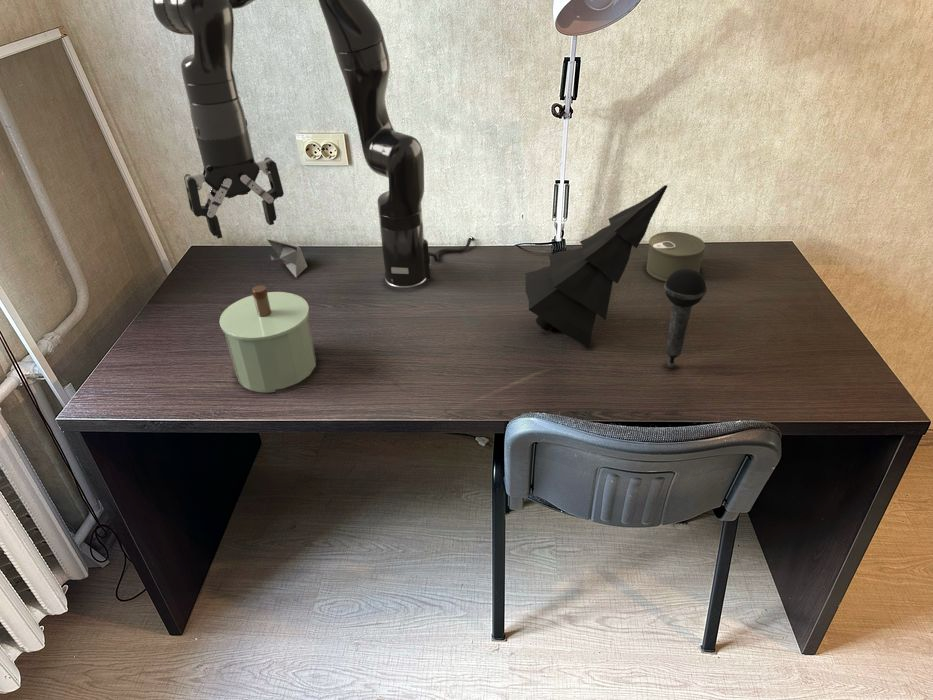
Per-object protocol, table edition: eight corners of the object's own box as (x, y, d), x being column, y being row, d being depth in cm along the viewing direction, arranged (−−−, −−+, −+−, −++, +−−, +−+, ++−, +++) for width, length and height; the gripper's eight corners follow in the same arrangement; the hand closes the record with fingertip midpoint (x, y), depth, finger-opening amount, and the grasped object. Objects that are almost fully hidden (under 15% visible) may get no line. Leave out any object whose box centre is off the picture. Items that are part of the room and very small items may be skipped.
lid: (292, 289, 128) (286, 260, 124) (323, 325, 117) (317, 294, 113) (210, 313, 121) (202, 283, 118) (235, 353, 110) (227, 322, 107)
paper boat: (321, 263, 157) (292, 269, 150) (310, 281, 161) (281, 288, 154) (292, 226, 160) (261, 230, 152) (281, 245, 163) (251, 250, 156)
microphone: (683, 383, 118) (703, 284, 107) (645, 372, 121) (661, 274, 110) (694, 363, 123) (715, 266, 112) (658, 353, 126) (674, 257, 115)
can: (710, 279, 149) (716, 251, 145) (660, 286, 147) (664, 258, 143) (683, 255, 158) (688, 228, 154) (636, 262, 156) (640, 235, 152)
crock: (299, 338, 133) (289, 288, 127) (328, 374, 123) (318, 321, 117) (227, 362, 127) (213, 311, 121) (251, 402, 117) (236, 348, 111)
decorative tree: (576, 363, 130) (709, 225, 113) (514, 326, 125) (643, 177, 108) (568, 322, 142) (687, 192, 125) (511, 287, 137) (627, 147, 120)
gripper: (259, 115, 106) (279, 212, 115) (166, 132, 100) (194, 233, 109) (275, 127, 100) (294, 227, 110) (178, 145, 94) (206, 249, 104)
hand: (244, 230), depth 109 cm, fingers open, 8 cm apart
